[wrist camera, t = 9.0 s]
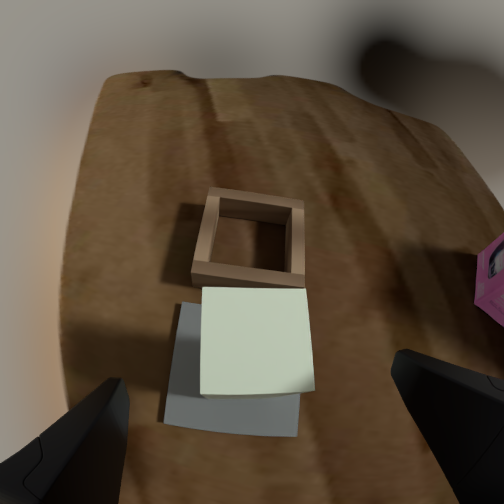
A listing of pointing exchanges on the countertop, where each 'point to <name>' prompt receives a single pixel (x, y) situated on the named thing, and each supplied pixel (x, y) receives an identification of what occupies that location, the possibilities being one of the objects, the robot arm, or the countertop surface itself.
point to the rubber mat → (219, 410)
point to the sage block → (255, 343)
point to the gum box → (491, 280)
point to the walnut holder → (257, 210)
